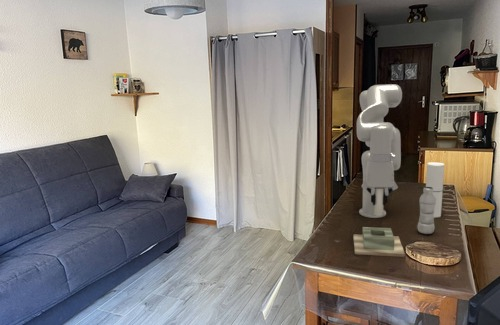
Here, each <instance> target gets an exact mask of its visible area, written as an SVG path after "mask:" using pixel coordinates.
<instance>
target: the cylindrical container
mask: <svg viewBox="0 0 500 325" xmlns="http://www.w3.org/2000/svg"><path fill="white" fill-rule="evenodd" d="M444 174H445V163H444V162H439V161H438V162H437V161H429V162H427V163H426V177H425V178H426V179H425V187H433V195H434V196H435V198H436V205H435V209H434V219H435V218H440V217H441V216H442V206H443V205H442V203H443V192H444V191H443V188H444V176H445V175H444Z"/></svg>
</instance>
